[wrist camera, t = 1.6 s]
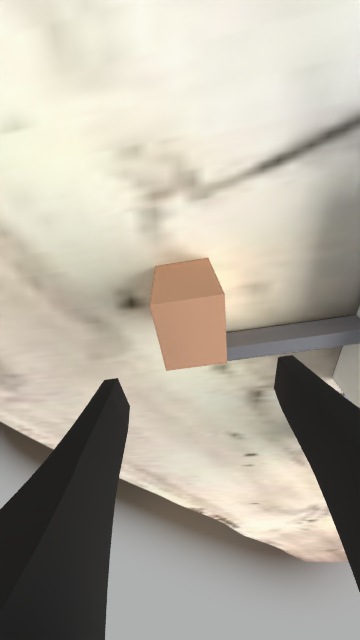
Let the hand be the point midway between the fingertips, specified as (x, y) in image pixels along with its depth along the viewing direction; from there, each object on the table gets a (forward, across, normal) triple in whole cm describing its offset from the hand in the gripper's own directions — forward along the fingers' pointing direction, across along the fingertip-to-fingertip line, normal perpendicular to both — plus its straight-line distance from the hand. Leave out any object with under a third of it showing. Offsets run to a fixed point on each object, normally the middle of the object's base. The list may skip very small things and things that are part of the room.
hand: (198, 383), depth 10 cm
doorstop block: (+10, 0, 0) cm, 10 cm away
